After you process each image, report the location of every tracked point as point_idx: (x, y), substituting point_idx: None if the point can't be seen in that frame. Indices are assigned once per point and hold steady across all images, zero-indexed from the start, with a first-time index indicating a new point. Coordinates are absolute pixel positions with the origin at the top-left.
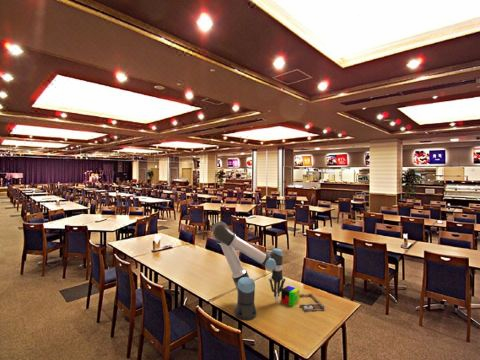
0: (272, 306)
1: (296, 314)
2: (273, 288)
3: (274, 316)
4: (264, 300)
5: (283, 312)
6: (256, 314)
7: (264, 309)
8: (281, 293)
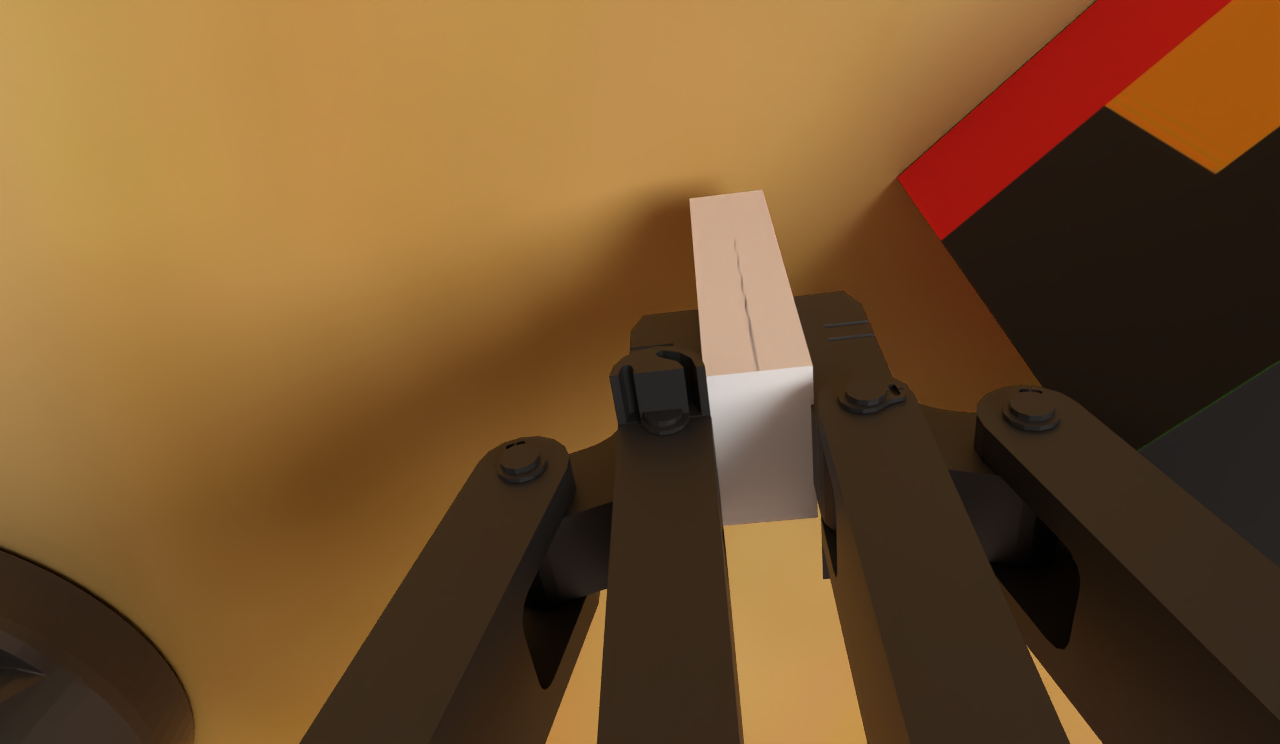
0: (564, 400)
1: (1045, 681)
2: (543, 740)
3: (558, 732)
4: (304, 12)
5: (785, 626)
6: (185, 736)
7: (344, 529)
8: (1019, 346)
